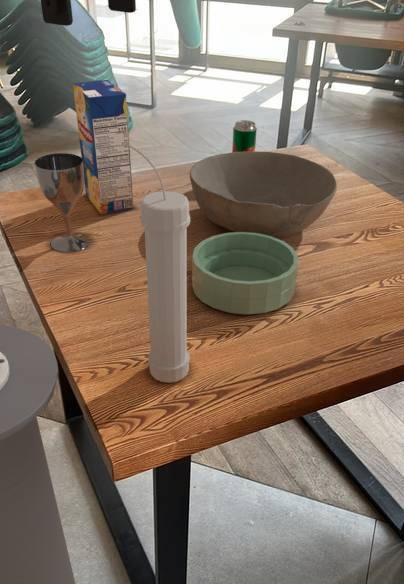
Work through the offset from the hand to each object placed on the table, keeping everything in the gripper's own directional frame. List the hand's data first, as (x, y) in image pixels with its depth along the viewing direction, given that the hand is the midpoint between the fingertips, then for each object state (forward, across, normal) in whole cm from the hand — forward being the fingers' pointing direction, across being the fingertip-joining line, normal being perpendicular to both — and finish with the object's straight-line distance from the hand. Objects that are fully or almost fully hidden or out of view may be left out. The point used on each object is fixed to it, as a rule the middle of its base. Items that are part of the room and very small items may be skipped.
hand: (92, 17), depth 57 cm
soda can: (+40, -64, -15) cm, 77 cm away
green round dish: (+40, -22, +8) cm, 47 cm away
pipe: (+40, +2, +9) cm, 42 cm away
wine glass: (+40, -19, -26) cm, 52 cm away
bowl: (+40, -46, -1) cm, 61 cm away
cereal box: (+40, -37, -32) cm, 63 cm away
